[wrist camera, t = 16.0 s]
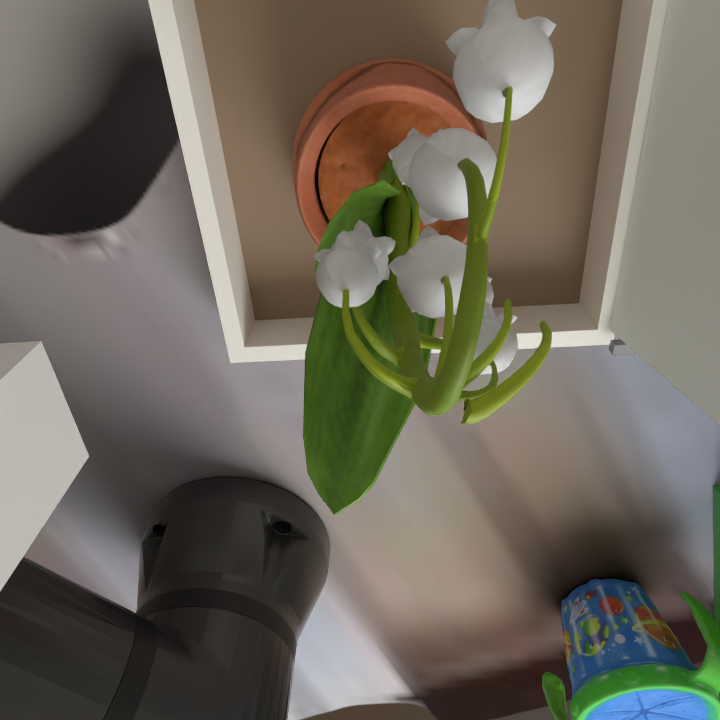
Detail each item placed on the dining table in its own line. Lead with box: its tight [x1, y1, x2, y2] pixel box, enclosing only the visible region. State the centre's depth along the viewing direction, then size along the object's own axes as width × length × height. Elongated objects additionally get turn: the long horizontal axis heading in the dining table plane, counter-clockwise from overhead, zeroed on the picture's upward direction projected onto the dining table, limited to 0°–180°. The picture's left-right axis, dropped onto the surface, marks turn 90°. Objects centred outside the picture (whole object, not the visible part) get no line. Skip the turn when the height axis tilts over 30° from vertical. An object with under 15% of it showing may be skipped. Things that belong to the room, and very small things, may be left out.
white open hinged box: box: [148, 0, 720, 425], centre depth 20 cm, size 26×22×22 cm
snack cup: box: [542, 579, 720, 720], centre depth 45 cm, size 16×10×10 cm
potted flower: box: [292, 0, 556, 515], centre depth 19 cm, size 12×10×25 cm
